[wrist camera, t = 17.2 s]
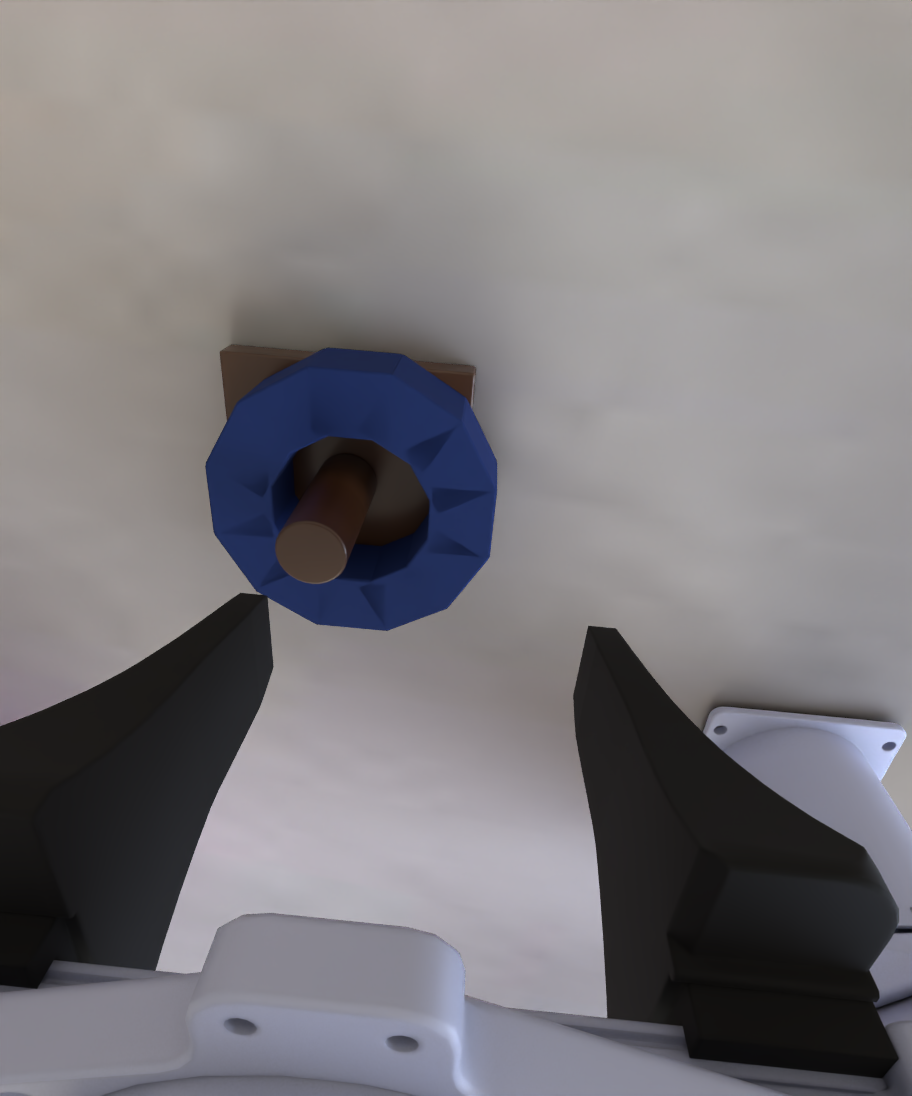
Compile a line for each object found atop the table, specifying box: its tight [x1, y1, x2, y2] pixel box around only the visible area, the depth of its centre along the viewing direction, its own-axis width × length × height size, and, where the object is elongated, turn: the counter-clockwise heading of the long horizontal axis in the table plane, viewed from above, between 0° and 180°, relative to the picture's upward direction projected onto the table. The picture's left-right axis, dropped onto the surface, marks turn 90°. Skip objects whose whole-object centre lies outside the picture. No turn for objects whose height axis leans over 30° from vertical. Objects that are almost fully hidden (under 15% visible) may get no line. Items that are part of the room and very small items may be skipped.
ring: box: [205, 348, 497, 631], centre depth 21 cm, size 9×9×2 cm
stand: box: [220, 345, 476, 584], centre depth 20 cm, size 8×8×6 cm
